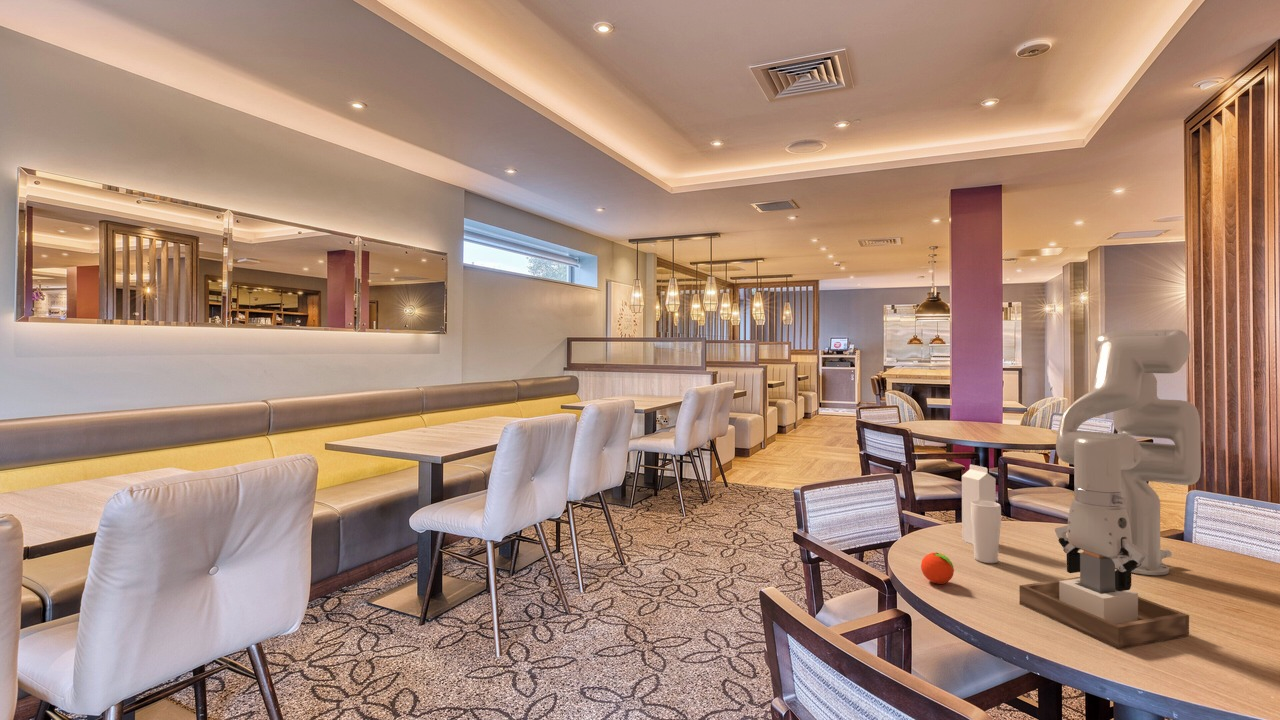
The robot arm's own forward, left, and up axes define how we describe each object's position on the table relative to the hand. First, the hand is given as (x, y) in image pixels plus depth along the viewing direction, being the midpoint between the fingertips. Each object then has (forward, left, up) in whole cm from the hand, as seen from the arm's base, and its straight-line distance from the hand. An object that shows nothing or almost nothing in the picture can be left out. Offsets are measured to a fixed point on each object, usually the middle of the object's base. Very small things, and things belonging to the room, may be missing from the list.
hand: (1097, 580), depth 118 cm
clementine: (+18, -23, -8) cm, 30 cm away
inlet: (0, 0, -7) cm, 7 cm away
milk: (-15, -44, -7) cm, 47 cm away
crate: (+1, +1, -7) cm, 7 cm away
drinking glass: (-5, -32, -7) cm, 33 cm away
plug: (0, 0, -5) cm, 5 cm away
